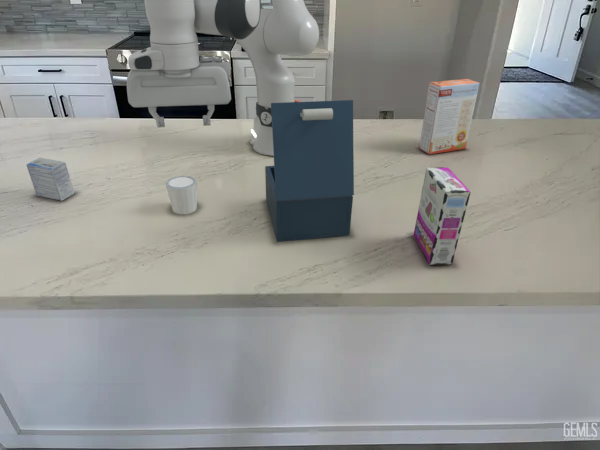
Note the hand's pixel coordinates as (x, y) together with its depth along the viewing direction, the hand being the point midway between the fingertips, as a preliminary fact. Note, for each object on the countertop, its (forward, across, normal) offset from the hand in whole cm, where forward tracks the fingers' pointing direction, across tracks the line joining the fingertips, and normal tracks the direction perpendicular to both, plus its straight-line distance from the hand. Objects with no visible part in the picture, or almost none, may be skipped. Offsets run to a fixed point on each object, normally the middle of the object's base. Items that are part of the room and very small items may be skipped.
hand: (184, 125), depth 93 cm
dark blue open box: (+21, -25, +7) cm, 33 cm away
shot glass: (+21, +2, -2) cm, 21 cm away
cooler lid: (+2, -25, +13) cm, 28 cm away
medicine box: (+21, +34, -14) cm, 42 cm away
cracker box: (+20, -77, -27) cm, 84 cm away
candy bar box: (+21, -48, +24) cm, 58 cm away
